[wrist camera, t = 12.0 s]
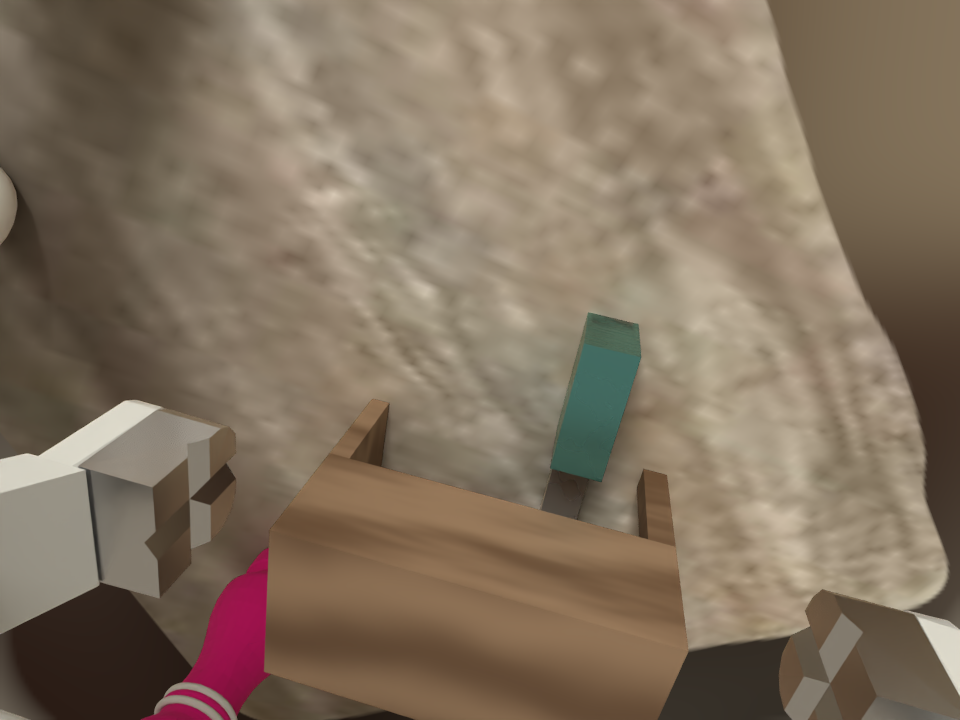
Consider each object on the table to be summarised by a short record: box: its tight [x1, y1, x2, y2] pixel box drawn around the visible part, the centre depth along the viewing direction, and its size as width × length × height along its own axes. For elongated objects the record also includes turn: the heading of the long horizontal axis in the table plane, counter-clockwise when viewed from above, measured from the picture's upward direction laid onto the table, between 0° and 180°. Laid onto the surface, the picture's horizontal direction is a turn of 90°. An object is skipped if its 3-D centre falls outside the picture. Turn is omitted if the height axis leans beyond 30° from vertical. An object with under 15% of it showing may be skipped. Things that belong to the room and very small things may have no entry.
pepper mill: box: [141, 548, 270, 720], centre depth 42 cm, size 7×7×20 cm
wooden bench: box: [264, 399, 688, 720], centre depth 37 cm, size 10×20×14 cm, turn 79°
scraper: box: [540, 312, 641, 520], centre depth 39 cm, size 20×6×5 cm, turn 169°
